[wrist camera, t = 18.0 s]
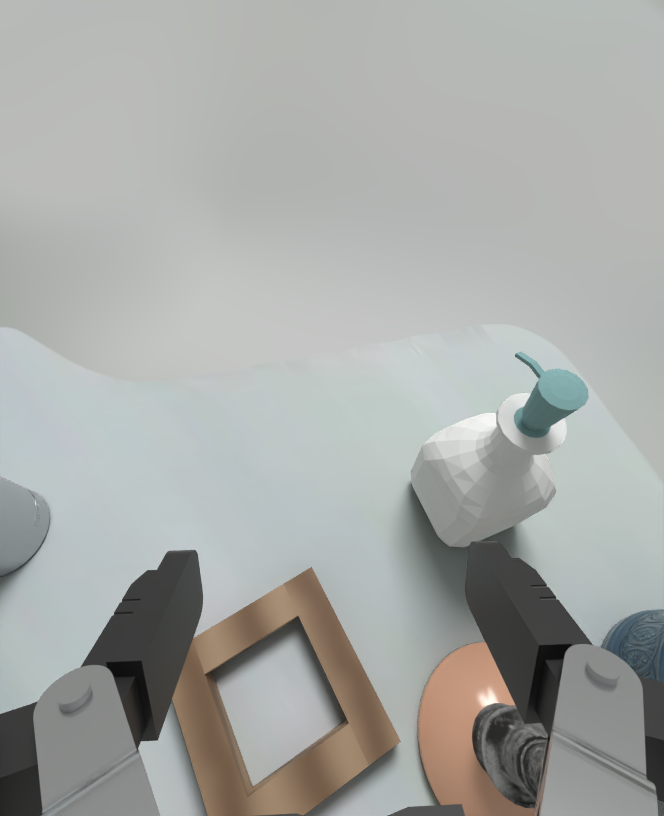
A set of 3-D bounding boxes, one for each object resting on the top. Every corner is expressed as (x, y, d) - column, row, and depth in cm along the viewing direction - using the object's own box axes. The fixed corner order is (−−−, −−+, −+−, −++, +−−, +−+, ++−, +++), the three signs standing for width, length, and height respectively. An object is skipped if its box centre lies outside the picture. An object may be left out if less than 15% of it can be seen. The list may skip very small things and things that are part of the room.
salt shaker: (546, 797, 31) (652, 881, 20) (469, 784, 31) (534, 860, 21) (537, 704, 34) (625, 737, 23) (466, 693, 34) (522, 721, 24)
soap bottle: (475, 444, 46) (579, 307, 27) (523, 522, 42) (691, 427, 22) (401, 473, 45) (452, 351, 25) (443, 557, 41) (546, 490, 21)
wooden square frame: (232, 859, 30) (225, 874, 28) (169, 657, 37) (159, 658, 35) (397, 735, 34) (400, 741, 32) (312, 570, 40) (311, 567, 38)
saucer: (492, 905, 29) (497, 914, 28) (385, 699, 35) (386, 701, 34) (626, 779, 32) (634, 784, 31) (508, 610, 38) (512, 610, 37)
